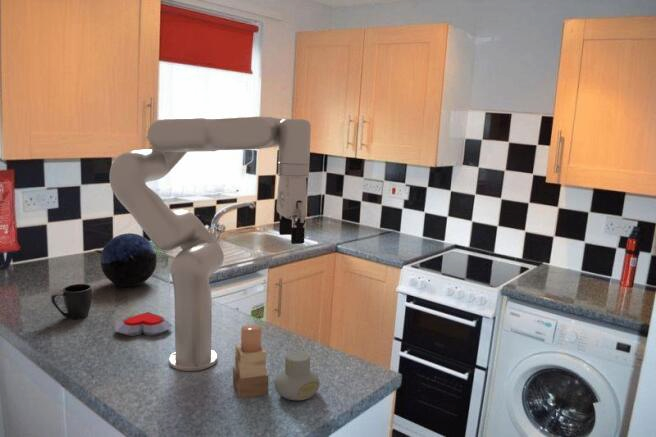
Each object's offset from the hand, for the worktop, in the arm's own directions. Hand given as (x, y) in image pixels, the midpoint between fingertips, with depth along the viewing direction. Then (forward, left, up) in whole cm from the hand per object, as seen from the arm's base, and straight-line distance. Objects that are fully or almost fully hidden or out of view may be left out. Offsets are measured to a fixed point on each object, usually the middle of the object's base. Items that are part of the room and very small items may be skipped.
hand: (291, 238), depth 132 cm
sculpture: (-40, -33, -37) cm, 64 cm away
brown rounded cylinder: (+5, -11, -26) cm, 28 cm away
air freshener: (+11, -1, -37) cm, 38 cm away
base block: (+5, -11, -36) cm, 38 cm away
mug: (-55, -54, -36) cm, 85 cm away
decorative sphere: (-84, -36, -36) cm, 98 cm away
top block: (+5, -11, -32) cm, 34 cm away
